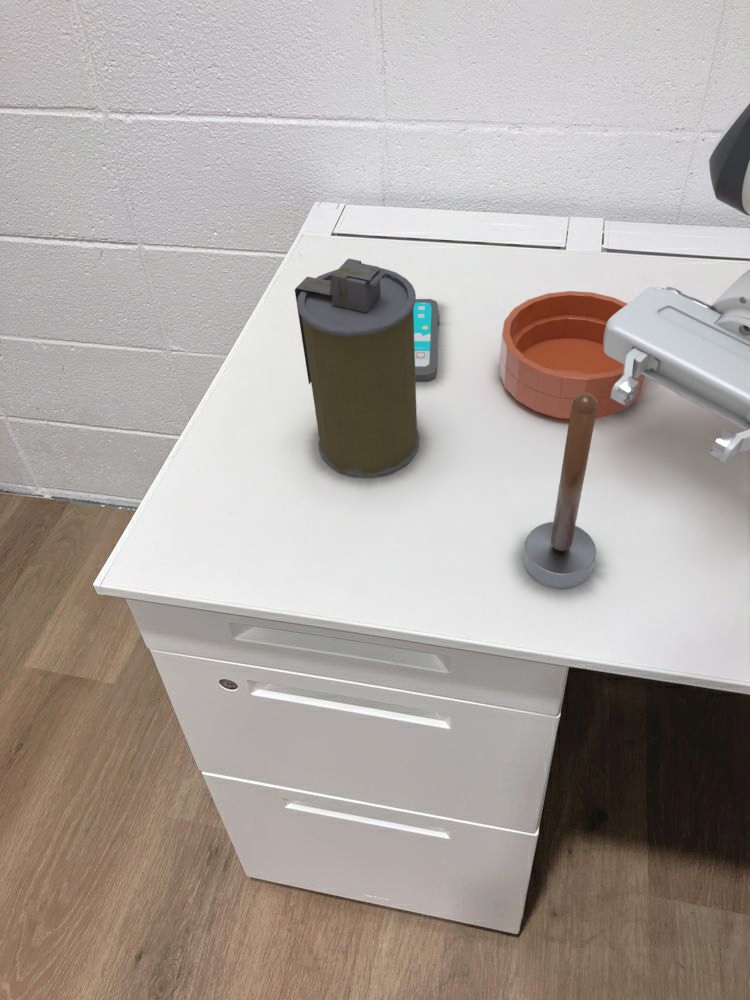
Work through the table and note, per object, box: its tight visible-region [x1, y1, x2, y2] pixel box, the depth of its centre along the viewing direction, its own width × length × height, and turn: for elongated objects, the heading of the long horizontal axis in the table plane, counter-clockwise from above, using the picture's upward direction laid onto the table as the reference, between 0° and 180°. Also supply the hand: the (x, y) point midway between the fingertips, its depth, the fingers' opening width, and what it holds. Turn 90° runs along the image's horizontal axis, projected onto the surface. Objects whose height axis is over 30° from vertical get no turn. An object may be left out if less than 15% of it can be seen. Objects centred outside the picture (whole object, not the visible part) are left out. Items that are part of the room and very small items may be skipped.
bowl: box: [498, 290, 649, 421], centre depth 86 cm, size 16×16×6 cm
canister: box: [294, 258, 420, 479], centre depth 76 cm, size 11×10×20 cm
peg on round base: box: [523, 393, 598, 590], centre depth 64 cm, size 6×6×19 cm
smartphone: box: [413, 298, 441, 382], centre depth 94 cm, size 9×1×15 cm
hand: (666, 424), depth 66 cm, fingers open, 8 cm apart
